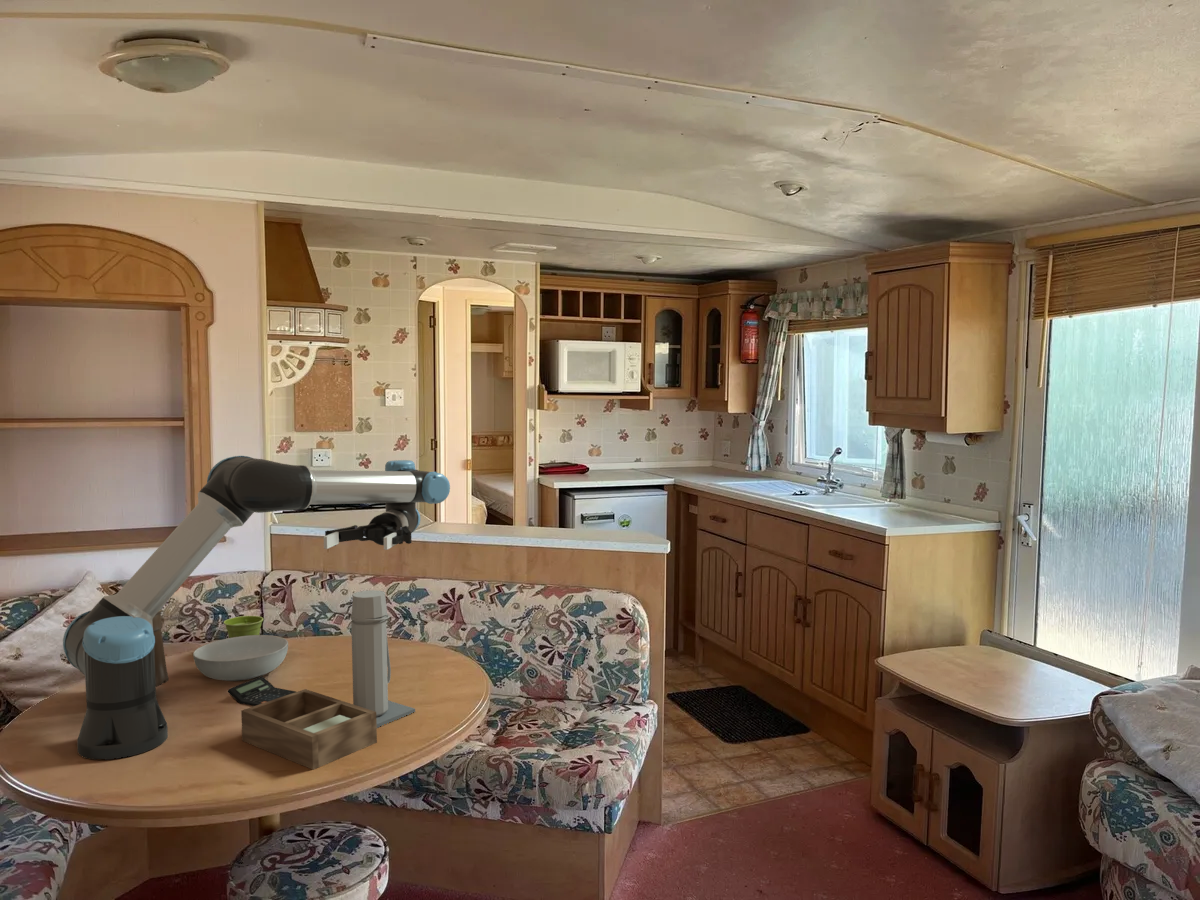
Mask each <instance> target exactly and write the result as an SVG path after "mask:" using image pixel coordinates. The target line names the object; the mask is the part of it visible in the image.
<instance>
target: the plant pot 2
mask: <svg viewBox="0 0 1200 900" xmlns="http://www.w3.org/2000/svg"><path fill="white" fill-rule="evenodd" d="M263 621H264V617H262V616H259V615H242V616H235V617H232V618H231V617H230V618H228V619H225V620H223V626H225V629H226V631H227V635H228V638H233V637H240V636H250V635H260V633H261V627H262V623H263Z"/></svg>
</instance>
